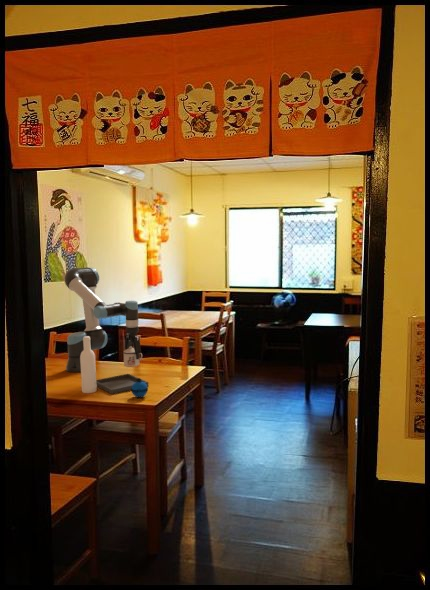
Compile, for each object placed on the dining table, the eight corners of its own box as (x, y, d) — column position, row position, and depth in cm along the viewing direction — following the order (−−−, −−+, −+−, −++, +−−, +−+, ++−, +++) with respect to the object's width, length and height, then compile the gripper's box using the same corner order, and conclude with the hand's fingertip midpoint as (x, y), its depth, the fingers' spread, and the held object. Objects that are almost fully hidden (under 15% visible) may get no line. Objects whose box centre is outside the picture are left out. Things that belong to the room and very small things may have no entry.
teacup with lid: (127, 368, 299) (126, 349, 297) (121, 365, 306) (120, 346, 305) (145, 365, 305) (145, 346, 304) (139, 362, 313) (138, 343, 312)
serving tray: (93, 384, 284) (93, 380, 284) (128, 377, 297) (128, 373, 297) (112, 394, 265) (111, 389, 265) (148, 386, 278) (148, 382, 278)
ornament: (150, 395, 262) (149, 376, 261) (144, 400, 254) (143, 380, 253) (135, 394, 264) (134, 375, 263) (128, 399, 256) (127, 380, 255)
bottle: (79, 391, 272) (76, 337, 269) (92, 388, 277) (89, 334, 274) (86, 394, 266) (83, 338, 263) (99, 390, 272) (96, 336, 269)
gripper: (146, 328, 297) (147, 365, 299) (129, 323, 314) (130, 358, 317) (135, 329, 292) (136, 367, 295) (118, 324, 309) (119, 360, 312)
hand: (133, 362), depth 306 cm, fingers closed on teacup with lid, 9 cm apart
